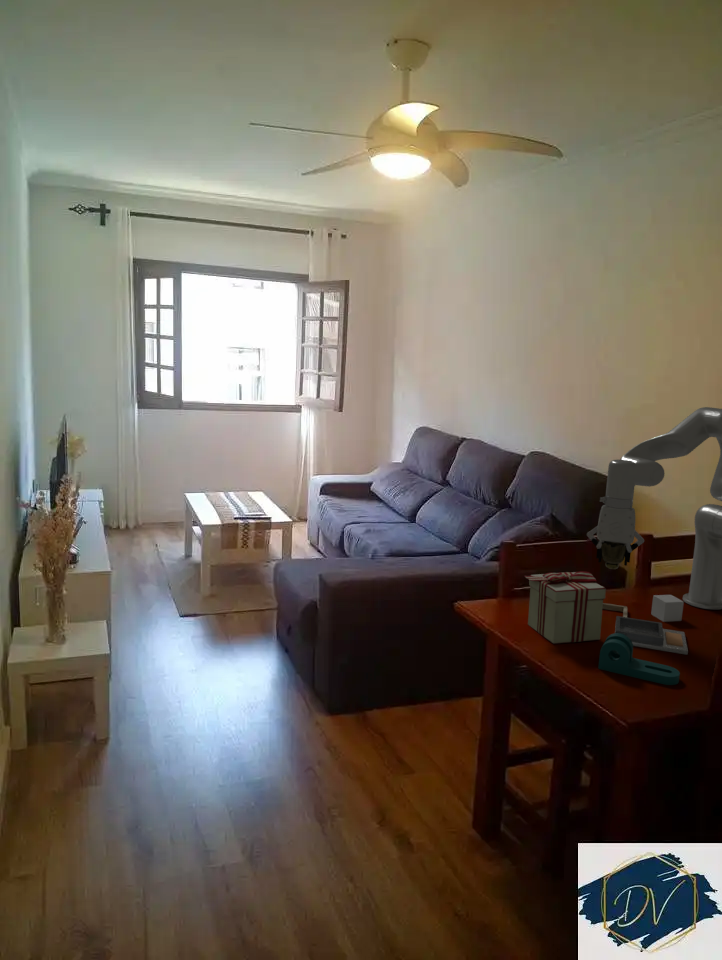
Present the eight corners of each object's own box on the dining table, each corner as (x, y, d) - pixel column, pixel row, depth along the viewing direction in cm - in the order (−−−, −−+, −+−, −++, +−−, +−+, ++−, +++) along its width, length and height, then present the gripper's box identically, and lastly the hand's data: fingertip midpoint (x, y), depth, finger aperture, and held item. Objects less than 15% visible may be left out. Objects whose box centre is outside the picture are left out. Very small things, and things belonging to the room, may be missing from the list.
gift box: (563, 616, 211) (568, 559, 208) (604, 640, 194) (611, 579, 191) (513, 621, 205) (518, 563, 202) (551, 647, 188) (557, 584, 185)
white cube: (668, 613, 217) (671, 594, 216) (681, 621, 211) (683, 601, 210) (650, 614, 215) (653, 595, 214) (663, 621, 210) (665, 602, 208)
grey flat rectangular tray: (615, 624, 206) (616, 614, 205) (683, 635, 200) (685, 625, 199) (614, 642, 193) (615, 632, 192) (687, 654, 187) (688, 643, 186)
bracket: (598, 669, 177) (601, 639, 175) (603, 659, 182) (606, 630, 181) (677, 688, 168) (681, 656, 167) (680, 677, 174) (683, 646, 173)
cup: (596, 568, 208) (598, 542, 207) (600, 562, 215) (603, 536, 213) (623, 573, 205) (625, 546, 204) (627, 566, 211) (629, 540, 210)
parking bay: (585, 605, 221) (585, 600, 220) (626, 611, 217) (627, 606, 216) (583, 618, 210) (583, 613, 209) (626, 625, 206) (627, 620, 205)
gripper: (586, 502, 206) (580, 562, 209) (651, 508, 200) (644, 570, 203) (588, 497, 213) (582, 555, 216) (650, 503, 207) (644, 563, 210)
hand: (612, 562), depth 210 cm, fingers closed on cup, 6 cm apart
